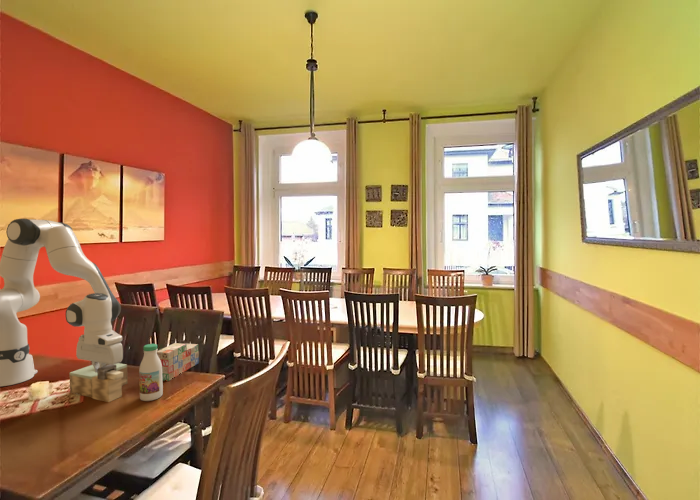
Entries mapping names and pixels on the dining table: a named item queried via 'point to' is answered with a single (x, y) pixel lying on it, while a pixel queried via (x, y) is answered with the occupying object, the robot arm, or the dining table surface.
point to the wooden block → (113, 374)
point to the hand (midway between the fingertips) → (99, 372)
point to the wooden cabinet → (99, 385)
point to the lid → (92, 371)
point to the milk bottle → (150, 374)
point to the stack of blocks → (177, 359)
